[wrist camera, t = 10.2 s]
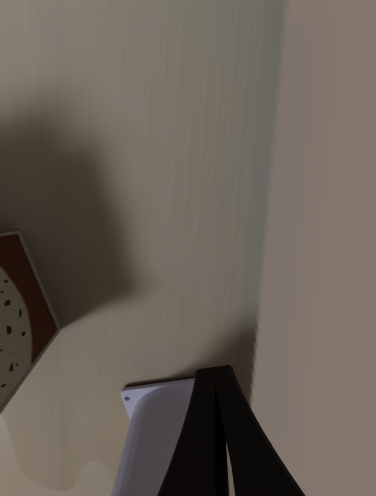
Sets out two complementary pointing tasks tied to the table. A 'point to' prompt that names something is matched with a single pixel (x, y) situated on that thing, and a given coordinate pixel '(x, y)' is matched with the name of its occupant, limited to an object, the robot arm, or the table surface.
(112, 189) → the table surface
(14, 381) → the food container
